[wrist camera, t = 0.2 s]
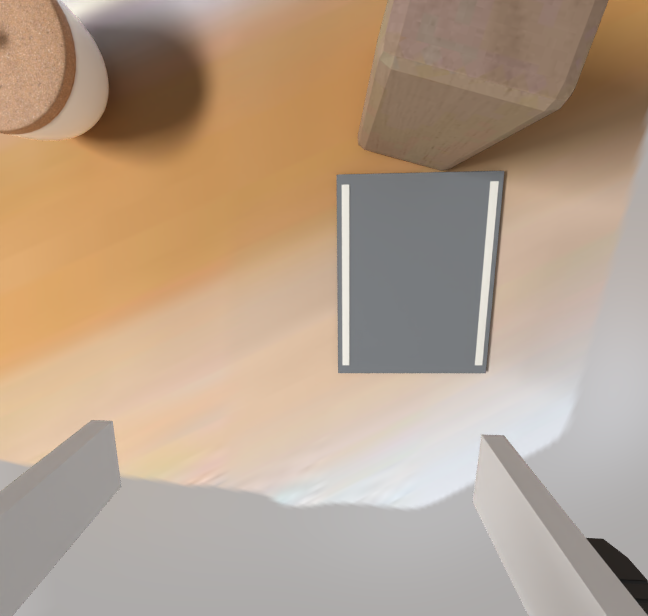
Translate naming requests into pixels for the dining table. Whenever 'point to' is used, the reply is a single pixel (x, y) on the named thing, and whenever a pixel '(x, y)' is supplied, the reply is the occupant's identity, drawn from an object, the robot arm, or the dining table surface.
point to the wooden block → (471, 73)
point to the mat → (416, 270)
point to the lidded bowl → (48, 72)
